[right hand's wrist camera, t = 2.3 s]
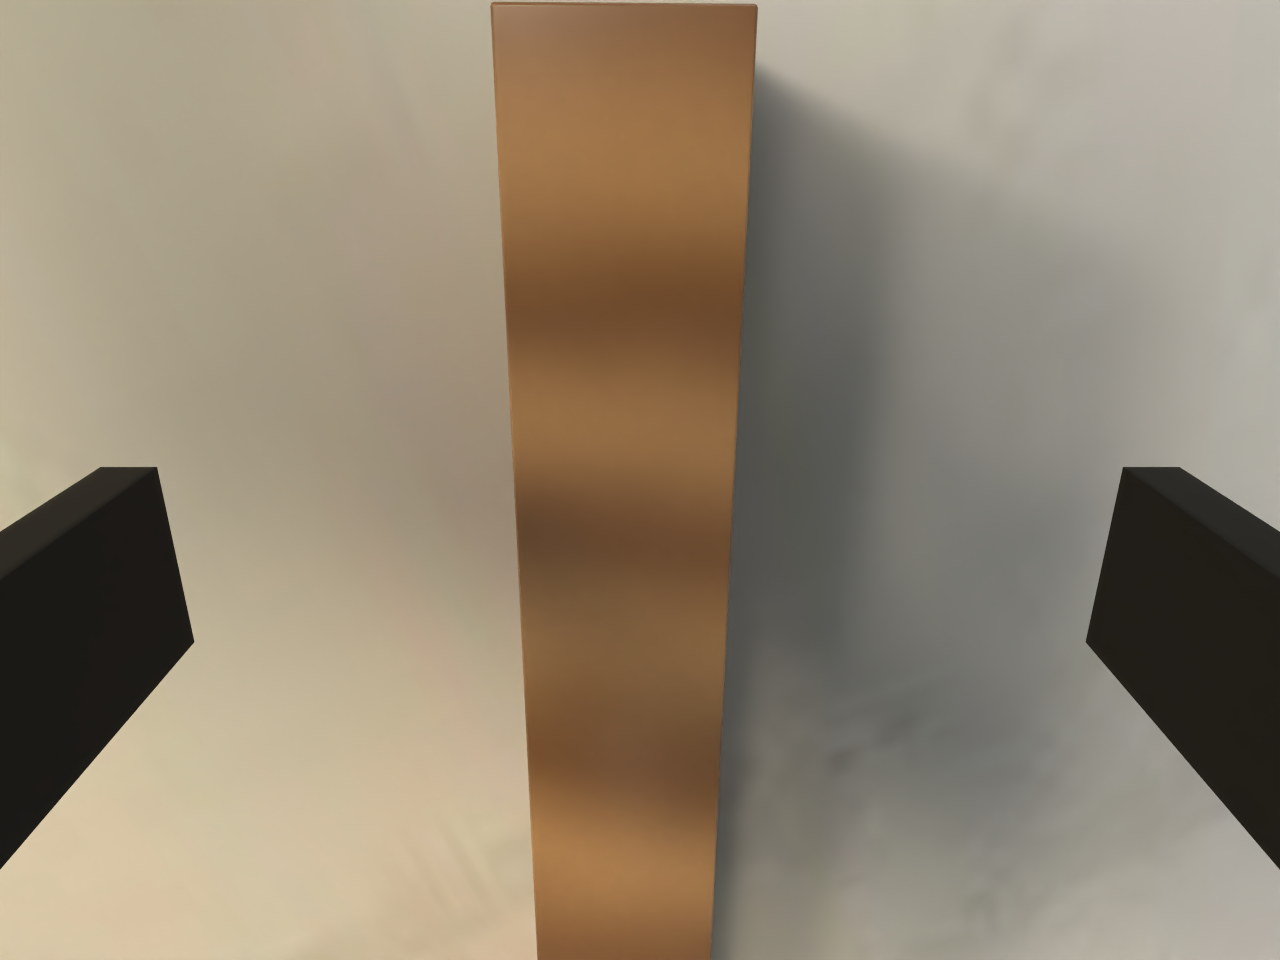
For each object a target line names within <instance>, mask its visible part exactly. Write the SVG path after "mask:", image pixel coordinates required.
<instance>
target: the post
mask: <svg viewBox="0 0 1280 960" xmlns="http://www.w3.org/2000/svg"><path fill="white" fill-rule="evenodd" d="M757 15H758V7H757V5H756V4H713V3H581V2H493V3H491V26H492V46H493V66H494V86H495V107H496V127H497V147H498V168H499V188H500V208H501V228H502V249H503V269H504V289H505V310H506V330H507V350H508V370H509V391H510V411H511V431H512V451H513V472H514V492H515V512H516V533H517V553H518V573H519V593H520V614H521V634H522V654H523V675H524V695H525V715H526V735H527V756H528V776H529V796H530V816H531V837H532V857H533V877H534V898H535V918H536V938H537V958H538V960H711V943H712V923H713V903H714V882H715V862H716V842H717V822H718V802H719V781H720V761H721V741H722V721H723V701H724V681H725V660H726V640H727V620H728V600H729V580H730V559H731V539H732V519H733V499H734V479H735V459H736V438H737V418H738V398H739V378H740V358H741V337H742V317H743V297H744V277H745V257H746V237H747V216H748V196H749V176H750V156H751V136H752V115H753V95H754V75H755V55H756V35H757Z"/></svg>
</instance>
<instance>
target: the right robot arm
mask: <svg viewBox="0 0 1280 960" xmlns="http://www.w3.org/2000/svg"><path fill="white" fill-rule="evenodd" d="M193 643H194V638H193V634H192V629H191V624H190V620H189V615H188V610H187V605H186V601H185V596H184V591H183V587H182V582H181V577H180V573H179V568H178V563H177V559H176V554H175V549H174V545H173V540H172V535H171V531H170V526H169V521H168V517H167V512H166V507H165V503H164V498H163V493H162V488H161V484H160V479H159V474H158V470H157V467H100V468H99V469H97V470H95V471H94V472H92V473H91V474H89V475H88V476H86V477H85V478H83V479H81V480H80V481H78V482H77V483H75V484H74V485H72V486H71V487H69V488H67V489H66V490H64V491H63V492H61V493H60V494H58V495H57V496H55V497H53V498H52V499H50V500H49V501H47V502H46V503H44V504H43V505H41V506H40V507H38V508H36V509H35V510H33V511H32V512H30V513H29V514H27V515H26V516H24V517H22V518H21V519H19V520H18V521H16V522H15V523H13V524H12V525H10V526H8V527H7V528H5V529H4V530H2V531H1V532H0V869H1V868H2V867H3V866H4V864H5V863H6V862H7V861H8V860H9V859H10V857H11V856H12V855H13V854H14V853H15V851H16V850H17V849H18V848H19V847H20V846H21V844H22V843H23V842H24V841H25V840H26V839H27V837H28V836H29V835H30V834H31V833H32V832H33V830H34V829H35V828H36V827H37V826H38V825H39V823H40V822H41V821H42V820H43V819H44V818H45V816H46V815H47V814H48V813H49V812H50V810H51V809H52V808H53V807H54V806H55V805H56V803H57V802H58V801H59V800H60V799H61V798H62V796H63V795H64V794H65V793H66V792H67V791H68V789H69V788H70V787H71V786H72V785H73V784H74V782H75V781H76V780H77V779H78V778H79V777H80V775H81V774H82V773H83V772H84V771H85V769H86V768H87V767H88V766H89V765H90V764H91V762H92V761H93V760H94V759H95V758H96V757H97V755H98V754H99V753H100V752H101V751H102V750H103V748H104V747H105V746H106V745H107V744H108V743H109V741H110V740H111V739H112V738H113V737H114V736H115V734H116V733H117V732H118V731H119V730H120V728H121V727H122V726H123V725H124V724H125V723H126V721H127V720H128V719H129V718H130V717H131V716H132V714H133V713H134V712H135V711H136V710H137V709H138V707H139V706H140V705H141V704H142V703H143V702H144V700H145V699H146V698H147V697H148V696H149V695H150V693H151V692H152V691H153V690H154V689H155V687H156V686H157V685H158V684H159V683H160V682H161V680H162V679H163V678H164V677H165V676H166V675H167V673H168V672H169V671H170V670H171V669H172V668H173V666H174V665H175V664H176V663H177V662H178V661H179V659H180V658H181V657H182V656H183V655H184V653H185V652H186V651H187V650H188V649H189V648H190V646H191V645H192V644H193ZM1086 643H1087V644H1088V645H1089V646H1090V648H1091V649H1092V650H1093V651H1094V652H1095V654H1096V655H1097V656H1098V657H1099V658H1100V659H1101V661H1102V662H1103V663H1104V664H1105V665H1106V666H1107V668H1108V669H1109V670H1110V671H1111V672H1112V673H1113V675H1114V676H1115V677H1116V678H1117V679H1118V680H1119V682H1120V683H1121V684H1122V685H1123V686H1124V687H1125V689H1126V690H1127V691H1128V692H1129V693H1130V695H1131V696H1132V697H1133V698H1134V699H1135V700H1136V702H1137V703H1138V704H1139V705H1140V706H1141V707H1142V709H1143V710H1144V711H1145V712H1146V713H1147V714H1148V716H1149V717H1150V718H1151V719H1152V720H1153V721H1154V723H1155V724H1156V725H1157V726H1158V727H1159V728H1160V730H1161V731H1162V732H1163V733H1164V734H1165V736H1166V737H1167V738H1168V739H1169V740H1170V741H1171V743H1172V744H1173V745H1174V746H1175V747H1176V748H1177V750H1178V751H1179V752H1180V753H1181V754H1182V755H1183V757H1184V758H1185V759H1186V760H1187V761H1188V762H1189V764H1190V765H1191V766H1192V767H1193V768H1194V769H1195V771H1196V772H1197V773H1198V774H1199V775H1200V777H1201V778H1202V779H1203V780H1204V781H1205V782H1206V784H1207V785H1208V786H1209V787H1210V788H1211V789H1212V791H1213V792H1214V793H1215V794H1216V795H1217V796H1218V798H1219V799H1220V800H1221V801H1222V802H1223V803H1224V805H1225V806H1226V807H1227V808H1228V809H1229V810H1230V812H1231V813H1232V814H1233V815H1234V816H1235V818H1236V819H1237V820H1238V821H1239V822H1240V823H1241V825H1242V826H1243V827H1244V828H1245V829H1246V830H1247V832H1248V833H1249V834H1250V835H1251V836H1252V837H1253V839H1254V840H1255V841H1256V842H1257V843H1258V844H1259V846H1260V847H1261V848H1262V849H1263V850H1264V851H1265V853H1266V854H1267V855H1268V856H1269V857H1270V859H1271V860H1272V861H1273V862H1274V863H1275V864H1276V866H1277V867H1278V868H1279V869H1280V532H1279V531H1278V530H1276V529H1275V528H1273V527H1272V526H1270V525H1268V524H1267V523H1265V522H1264V521H1262V520H1261V519H1259V518H1258V517H1256V516H1254V515H1253V514H1251V513H1250V512H1248V511H1247V510H1245V509H1244V508H1242V507H1240V506H1239V505H1237V504H1236V503H1234V502H1233V501H1231V500H1230V499H1228V498H1227V497H1225V496H1223V495H1222V494H1220V493H1219V492H1217V491H1216V490H1214V489H1213V488H1211V487H1209V486H1208V485H1206V484H1205V483H1203V482H1202V481H1200V480H1199V479H1197V478H1195V477H1194V476H1192V475H1191V474H1189V473H1188V472H1186V471H1185V470H1183V469H1181V468H1180V467H1123V470H1122V474H1121V479H1120V484H1119V488H1118V493H1117V498H1116V503H1115V507H1114V512H1113V517H1112V521H1111V526H1110V531H1109V535H1108V540H1107V545H1106V549H1105V554H1104V559H1103V563H1102V568H1101V573H1100V577H1099V582H1098V587H1097V591H1096V596H1095V601H1094V605H1093V610H1092V615H1091V619H1090V624H1089V629H1088V634H1087V638H1086Z"/></svg>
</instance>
